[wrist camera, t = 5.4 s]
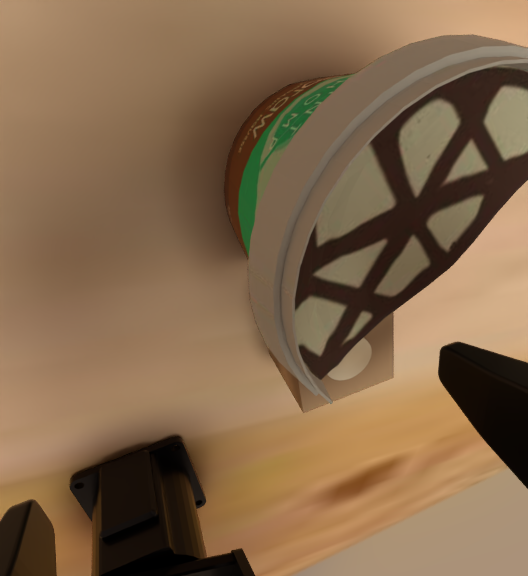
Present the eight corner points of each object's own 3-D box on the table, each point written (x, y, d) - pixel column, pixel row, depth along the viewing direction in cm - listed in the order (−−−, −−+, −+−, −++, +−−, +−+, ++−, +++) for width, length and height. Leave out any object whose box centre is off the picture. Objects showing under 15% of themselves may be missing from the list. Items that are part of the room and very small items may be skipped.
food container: (342, -32, 17) (584, -121, 8) (412, 92, 20) (634, 116, 12) (136, 197, 18) (167, 315, 10) (233, 277, 21) (319, 416, 13)
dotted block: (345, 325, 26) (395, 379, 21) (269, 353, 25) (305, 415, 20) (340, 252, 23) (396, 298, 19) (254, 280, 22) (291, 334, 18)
